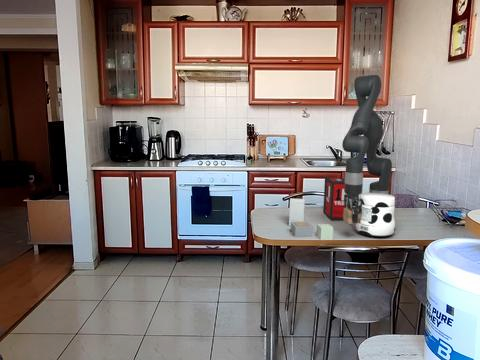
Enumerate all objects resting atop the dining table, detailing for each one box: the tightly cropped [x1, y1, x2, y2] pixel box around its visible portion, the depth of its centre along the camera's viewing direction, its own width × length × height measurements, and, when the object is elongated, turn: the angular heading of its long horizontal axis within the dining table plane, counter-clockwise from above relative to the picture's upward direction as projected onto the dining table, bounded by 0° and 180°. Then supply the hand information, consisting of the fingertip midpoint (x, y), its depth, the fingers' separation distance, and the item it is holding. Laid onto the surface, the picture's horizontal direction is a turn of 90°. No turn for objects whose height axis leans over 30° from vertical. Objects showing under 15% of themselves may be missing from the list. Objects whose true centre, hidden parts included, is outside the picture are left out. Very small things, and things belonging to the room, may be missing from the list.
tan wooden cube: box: [343, 208, 361, 225], centre depth 172 cm, size 6×6×6 cm
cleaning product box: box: [322, 176, 346, 222], centre depth 210 cm, size 16×9×20 cm, turn 2°
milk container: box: [355, 192, 396, 238], centre depth 181 cm, size 17×17×18 cm
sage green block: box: [316, 223, 334, 241], centre depth 176 cm, size 6×6×6 cm
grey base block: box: [290, 221, 314, 238], centre depth 181 cm, size 8×8×5 cm
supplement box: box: [288, 198, 306, 227], centre depth 195 cm, size 7×7×13 cm
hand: (351, 220), depth 172 cm, fingers closed on tan wooden cube, 5 cm apart
